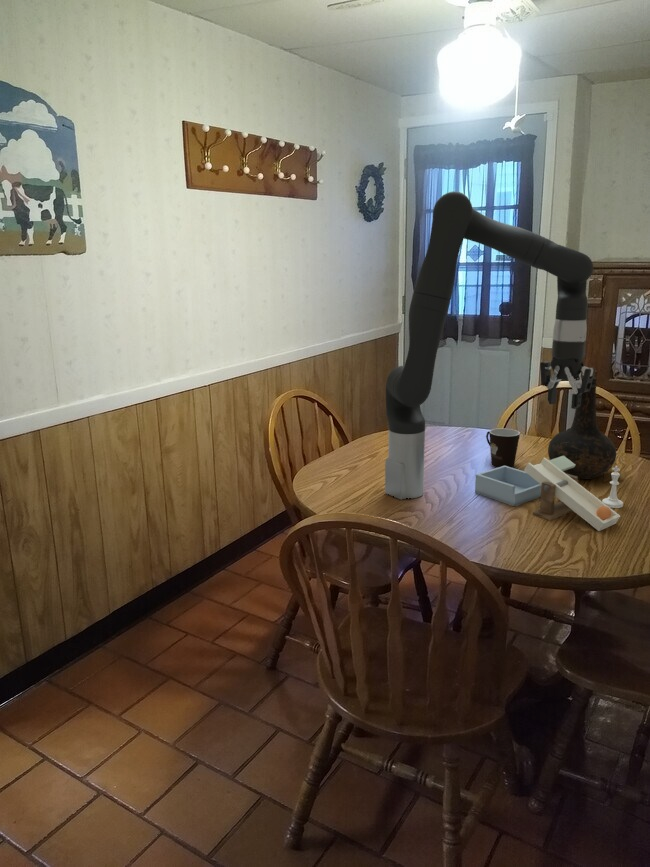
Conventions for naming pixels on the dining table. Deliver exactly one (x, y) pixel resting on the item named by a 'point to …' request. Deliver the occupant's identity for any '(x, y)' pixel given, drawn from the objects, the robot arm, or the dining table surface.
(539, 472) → the lever
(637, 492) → the dining table surface
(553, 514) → the stand
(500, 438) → the coffee mug
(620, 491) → the dining table surface
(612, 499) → the chess piece
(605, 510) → the ball
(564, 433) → the glass bottle
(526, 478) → the bin
